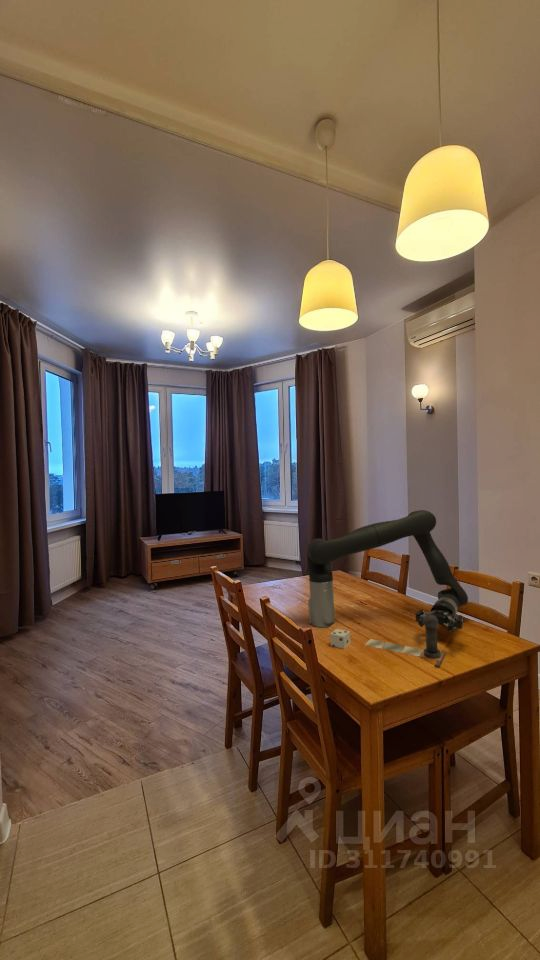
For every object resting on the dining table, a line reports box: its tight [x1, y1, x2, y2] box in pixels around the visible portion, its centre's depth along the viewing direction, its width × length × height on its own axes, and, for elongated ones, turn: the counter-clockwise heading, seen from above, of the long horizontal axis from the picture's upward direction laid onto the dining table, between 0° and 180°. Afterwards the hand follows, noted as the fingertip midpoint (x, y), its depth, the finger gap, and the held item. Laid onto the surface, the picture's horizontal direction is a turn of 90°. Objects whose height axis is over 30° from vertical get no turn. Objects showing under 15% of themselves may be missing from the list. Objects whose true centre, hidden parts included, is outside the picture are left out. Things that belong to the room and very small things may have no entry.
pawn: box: [423, 614, 441, 660], centre depth 120 cm, size 5×5×13 cm
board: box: [364, 638, 447, 669], centre depth 125 cm, size 24×11×1 cm, turn 56°
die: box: [329, 628, 351, 650], centre depth 131 cm, size 5×5×5 cm
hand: (434, 626), depth 124 cm, fingers open, 8 cm apart
